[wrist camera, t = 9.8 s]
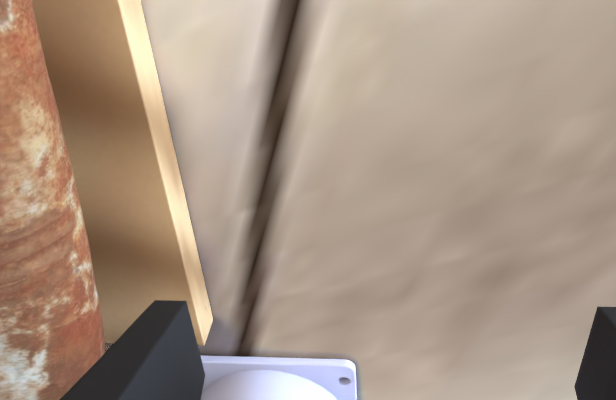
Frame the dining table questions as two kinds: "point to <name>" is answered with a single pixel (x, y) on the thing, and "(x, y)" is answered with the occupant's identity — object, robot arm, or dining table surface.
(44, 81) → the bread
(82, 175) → the board
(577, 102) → the dining table surface
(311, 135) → the dining table surface
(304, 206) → the dining table surface
